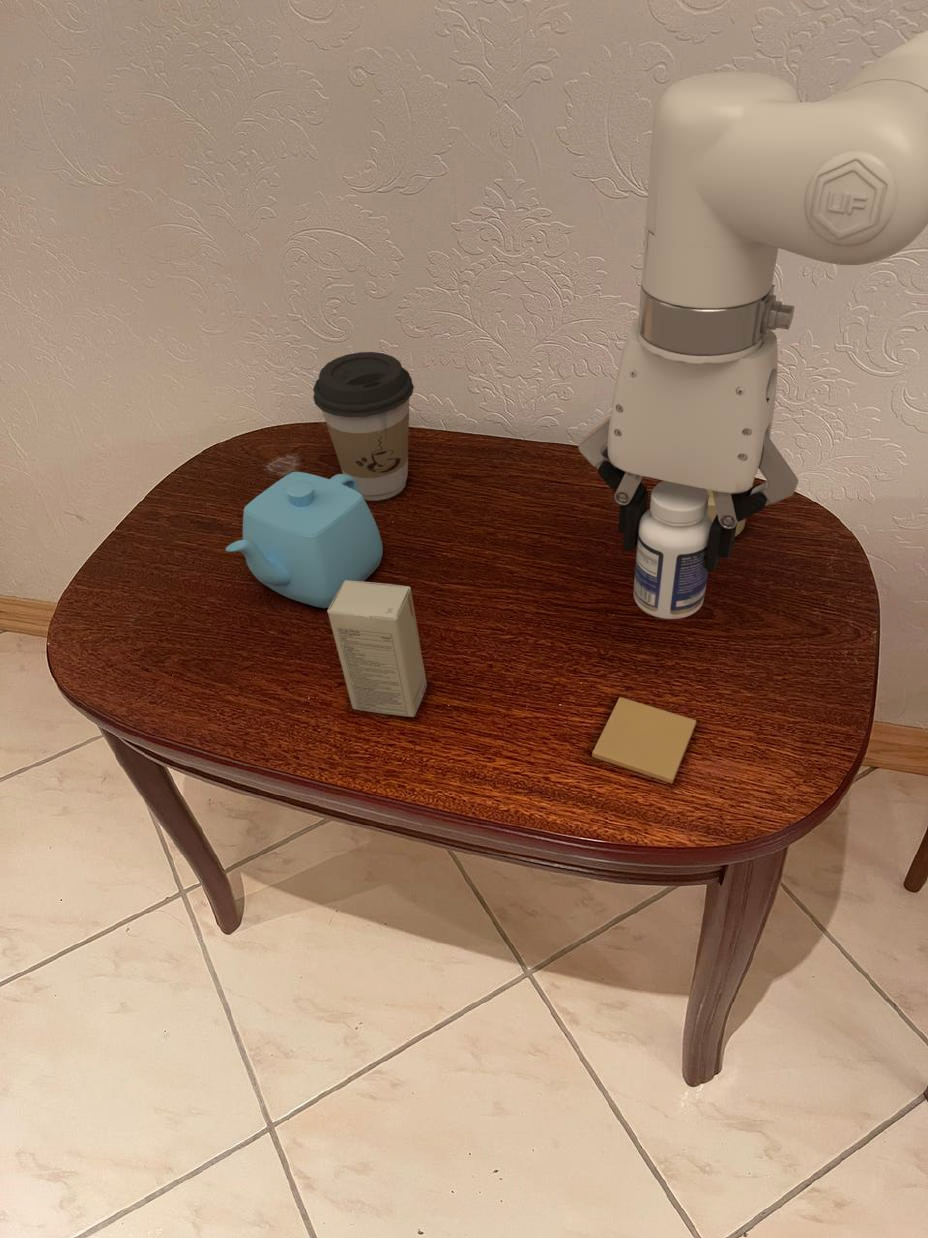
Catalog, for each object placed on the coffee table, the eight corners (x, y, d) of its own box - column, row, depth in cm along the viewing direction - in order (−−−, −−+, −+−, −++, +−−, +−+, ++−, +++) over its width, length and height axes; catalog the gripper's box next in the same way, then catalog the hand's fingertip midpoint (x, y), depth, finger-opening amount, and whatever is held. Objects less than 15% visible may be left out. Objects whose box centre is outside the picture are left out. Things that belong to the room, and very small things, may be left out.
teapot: (209, 612, 92) (179, 523, 84) (321, 522, 103) (303, 436, 95) (298, 655, 87) (274, 564, 79) (407, 555, 97) (395, 466, 90)
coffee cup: (347, 521, 103) (326, 405, 93) (319, 473, 111) (297, 361, 100) (438, 494, 106) (427, 379, 96) (404, 449, 113) (390, 338, 103)
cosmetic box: (428, 685, 83) (415, 585, 74) (414, 720, 80) (400, 619, 71) (363, 675, 84) (343, 576, 76) (347, 709, 81) (325, 610, 73)
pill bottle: (706, 580, 70) (722, 476, 64) (700, 626, 66) (717, 520, 60) (637, 572, 71) (646, 468, 65) (627, 616, 68) (636, 511, 61)
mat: (696, 724, 77) (696, 720, 77) (672, 784, 73) (673, 779, 72) (619, 700, 80) (619, 696, 79) (591, 757, 75) (592, 752, 75)
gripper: (862, 308, 53) (803, 548, 65) (590, 273, 59) (583, 498, 71) (839, 363, 48) (780, 612, 60) (546, 319, 54) (546, 552, 67)
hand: (673, 548), depth 66 cm, fingers closed on pill bottle, 5 cm apart
